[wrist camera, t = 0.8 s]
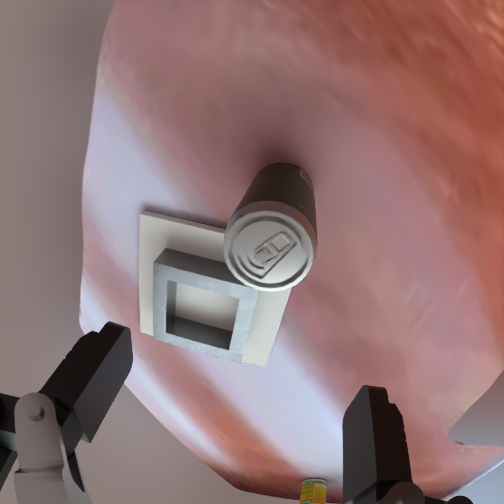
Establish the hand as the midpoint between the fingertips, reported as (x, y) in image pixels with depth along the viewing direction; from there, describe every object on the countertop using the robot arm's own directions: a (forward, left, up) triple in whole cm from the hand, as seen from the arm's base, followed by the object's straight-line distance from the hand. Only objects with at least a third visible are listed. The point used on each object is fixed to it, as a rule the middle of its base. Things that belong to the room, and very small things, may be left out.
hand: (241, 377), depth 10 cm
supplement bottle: (+58, +22, -21) cm, 65 cm away
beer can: (0, 0, -21) cm, 21 cm away
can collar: (+13, -5, -21) cm, 25 cm away
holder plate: (+13, -5, -21) cm, 25 cm away
